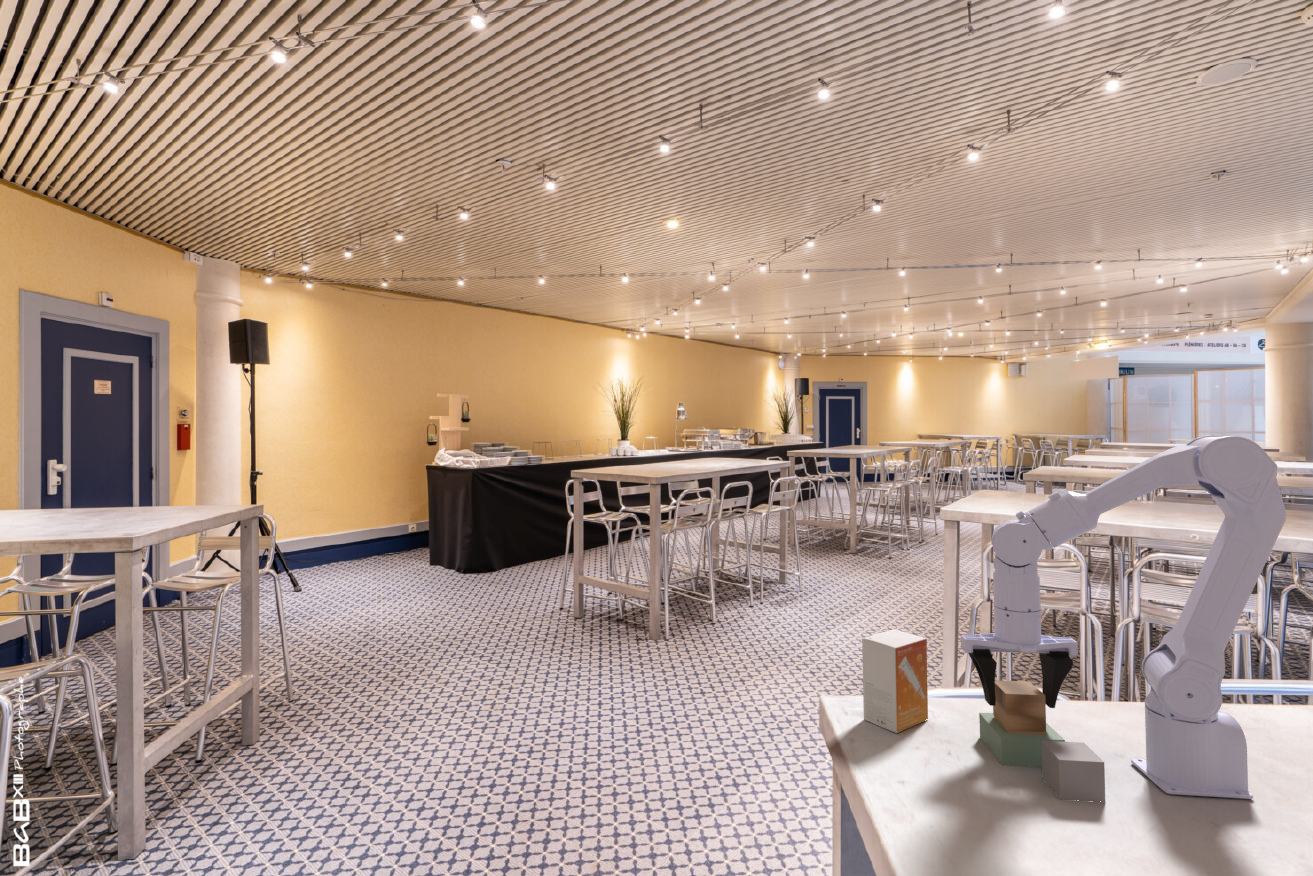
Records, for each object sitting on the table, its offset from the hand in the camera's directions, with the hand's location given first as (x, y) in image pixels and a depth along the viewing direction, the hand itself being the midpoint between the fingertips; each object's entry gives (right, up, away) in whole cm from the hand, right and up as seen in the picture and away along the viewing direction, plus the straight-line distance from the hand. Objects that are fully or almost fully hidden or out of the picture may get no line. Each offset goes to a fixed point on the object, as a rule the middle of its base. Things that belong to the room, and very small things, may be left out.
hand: (1019, 704), depth 89 cm
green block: (0, -7, 0) cm, 7 cm away
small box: (-13, -7, +11) cm, 19 cm away
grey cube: (+1, -7, -10) cm, 12 cm away
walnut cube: (0, -3, 0) cm, 3 cm away
